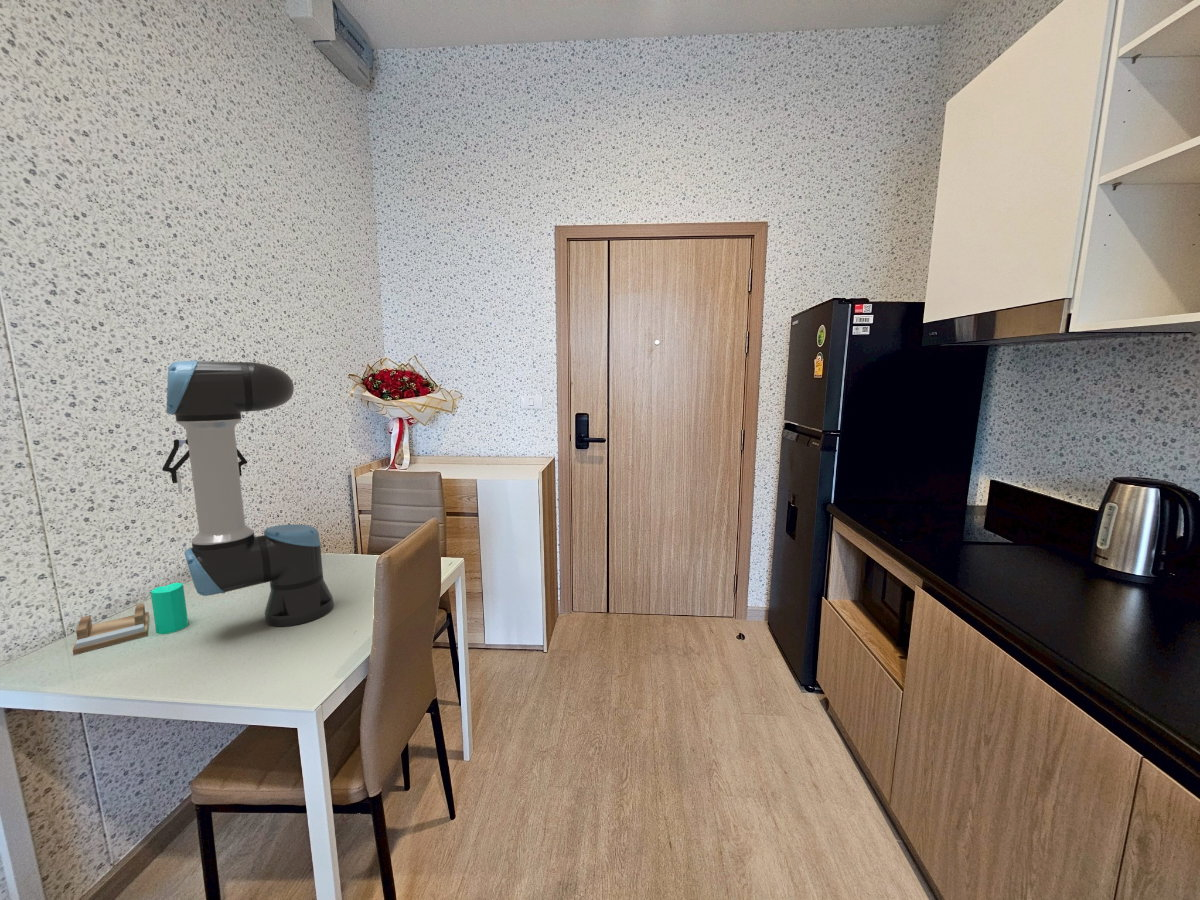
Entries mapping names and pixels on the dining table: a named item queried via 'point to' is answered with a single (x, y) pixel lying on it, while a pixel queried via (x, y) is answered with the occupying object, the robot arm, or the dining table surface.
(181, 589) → the candle
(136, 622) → the jig
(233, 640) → the dining table surface
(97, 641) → the wing slat
